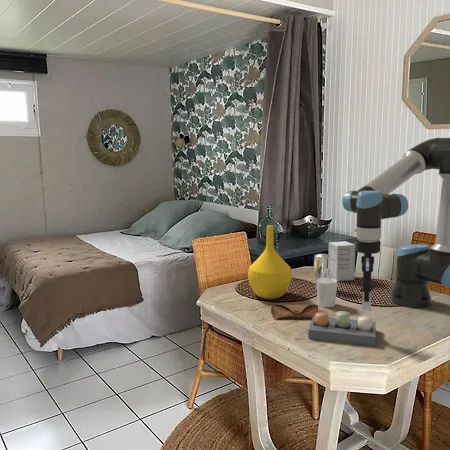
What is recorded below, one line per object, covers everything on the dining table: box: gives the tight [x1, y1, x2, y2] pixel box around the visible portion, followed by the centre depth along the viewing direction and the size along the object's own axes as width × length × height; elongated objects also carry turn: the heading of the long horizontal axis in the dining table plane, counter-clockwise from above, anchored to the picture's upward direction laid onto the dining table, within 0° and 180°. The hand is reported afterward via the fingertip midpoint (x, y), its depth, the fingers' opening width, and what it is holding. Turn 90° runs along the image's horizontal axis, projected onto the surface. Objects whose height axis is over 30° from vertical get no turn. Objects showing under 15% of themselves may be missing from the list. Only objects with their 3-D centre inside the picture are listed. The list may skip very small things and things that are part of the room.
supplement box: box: [328, 240, 356, 282], centre depth 219 cm, size 10×9×17 cm
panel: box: [307, 316, 377, 347], centre depth 156 cm, size 21×13×3 cm, turn 72°
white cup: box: [316, 277, 338, 308], centre depth 184 cm, size 8×8×10 cm
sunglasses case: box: [270, 303, 319, 321], centre depth 174 cm, size 18×7×7 cm, turn 90°
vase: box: [247, 224, 293, 300], centre depth 194 cm, size 18×18×30 cm
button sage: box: [335, 310, 351, 327], centre depth 156 cm, size 4×4×4 cm
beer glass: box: [313, 253, 330, 291], centre depth 204 cm, size 7×7×15 cm
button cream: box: [357, 315, 373, 332], centre depth 154 cm, size 4×4×4 cm
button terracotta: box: [315, 311, 329, 327], centre depth 158 cm, size 4×4×4 cm
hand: (366, 309), depth 153 cm, fingers closed
